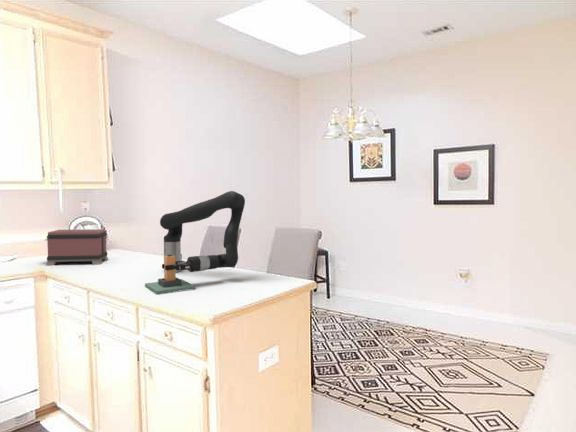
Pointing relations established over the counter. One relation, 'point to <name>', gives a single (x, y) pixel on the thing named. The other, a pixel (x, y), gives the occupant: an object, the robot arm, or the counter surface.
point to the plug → (169, 274)
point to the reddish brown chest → (77, 246)
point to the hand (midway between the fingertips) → (164, 267)
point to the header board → (168, 286)
